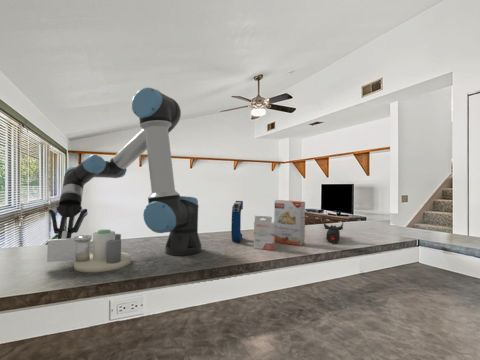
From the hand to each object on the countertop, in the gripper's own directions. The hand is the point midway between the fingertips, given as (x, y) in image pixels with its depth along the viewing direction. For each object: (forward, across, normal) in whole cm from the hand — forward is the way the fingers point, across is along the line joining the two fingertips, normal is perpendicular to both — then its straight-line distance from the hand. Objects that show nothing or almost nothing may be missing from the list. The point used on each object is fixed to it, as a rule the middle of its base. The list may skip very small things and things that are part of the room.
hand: (62, 248), depth 95 cm
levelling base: (+7, -13, -1) cm, 15 cm away
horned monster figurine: (+5, -121, -4) cm, 122 cm away
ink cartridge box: (+7, -78, -1) cm, 78 cm away
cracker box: (+4, -94, -5) cm, 95 cm away
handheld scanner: (-7, -73, -15) cm, 75 cm away
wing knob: (+6, -3, +1) cm, 6 cm away
